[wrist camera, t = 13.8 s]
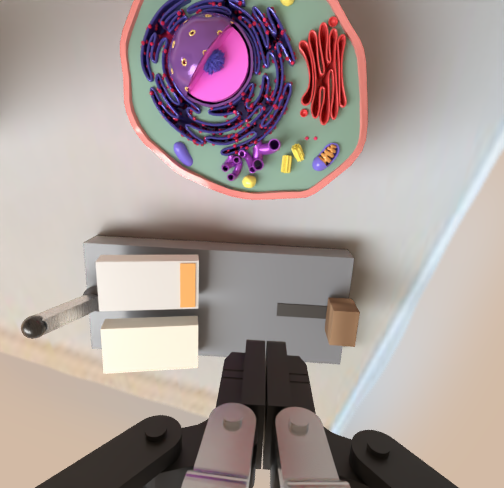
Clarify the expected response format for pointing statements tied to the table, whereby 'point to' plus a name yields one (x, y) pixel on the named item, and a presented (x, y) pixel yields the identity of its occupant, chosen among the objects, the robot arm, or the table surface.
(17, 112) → the table surface
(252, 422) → the robot arm
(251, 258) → the panel
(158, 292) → the rocker white
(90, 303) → the toggle lever
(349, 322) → the slider knob
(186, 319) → the block
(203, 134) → the cell model
